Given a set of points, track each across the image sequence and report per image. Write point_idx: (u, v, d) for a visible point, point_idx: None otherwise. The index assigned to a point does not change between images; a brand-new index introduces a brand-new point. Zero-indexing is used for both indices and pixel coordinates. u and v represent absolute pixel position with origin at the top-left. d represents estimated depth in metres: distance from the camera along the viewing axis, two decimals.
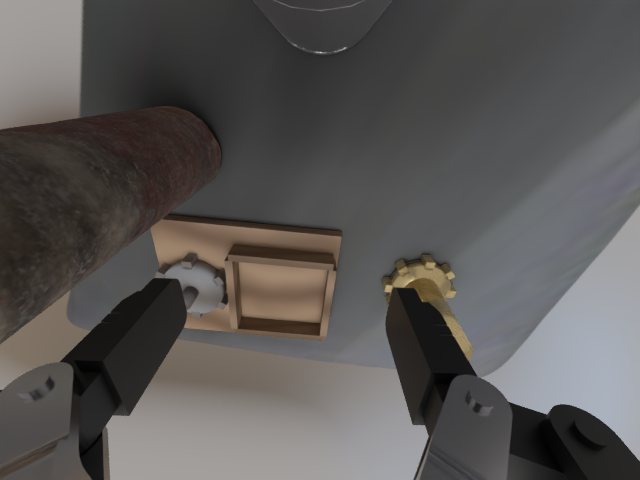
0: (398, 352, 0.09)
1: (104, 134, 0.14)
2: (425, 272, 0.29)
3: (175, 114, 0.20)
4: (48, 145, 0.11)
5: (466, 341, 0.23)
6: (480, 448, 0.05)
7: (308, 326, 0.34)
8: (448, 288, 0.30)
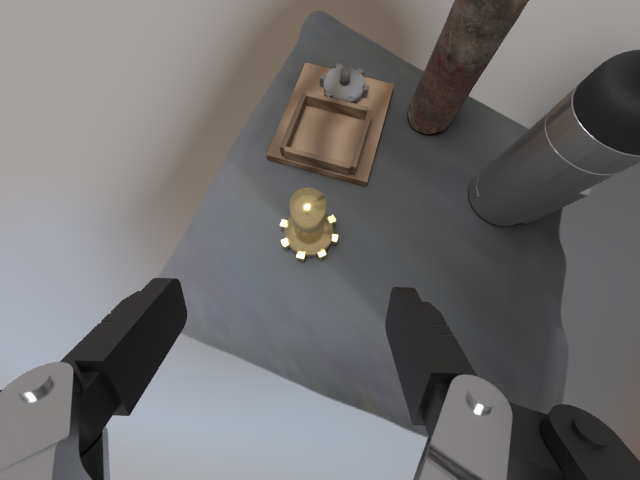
0: (398, 352, 0.09)
1: (483, 70, 0.34)
2: (328, 234, 0.37)
3: None
4: (499, 45, 0.31)
5: (320, 216, 0.28)
6: (480, 448, 0.05)
7: (289, 144, 0.41)
8: (308, 252, 0.36)
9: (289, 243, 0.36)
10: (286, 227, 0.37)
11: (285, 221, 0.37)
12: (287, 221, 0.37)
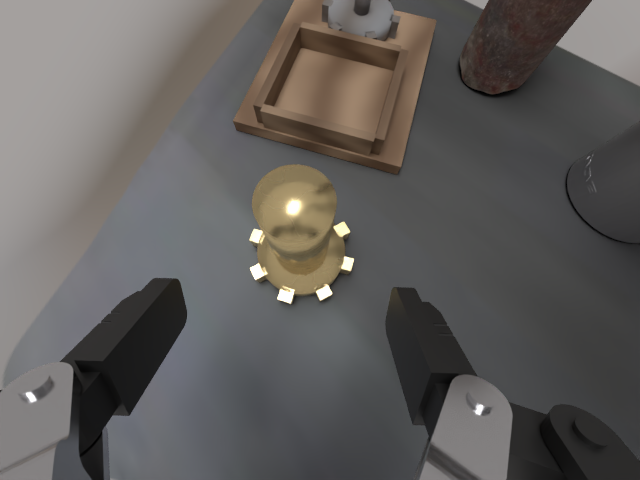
0: (398, 352, 0.09)
1: None
2: (336, 257, 0.20)
3: (542, 60, 0.25)
4: None
5: (324, 229, 0.12)
6: (479, 448, 0.05)
7: (271, 103, 0.24)
8: (299, 290, 0.20)
9: (265, 273, 0.20)
10: (261, 243, 0.21)
11: (259, 233, 0.21)
12: (263, 233, 0.21)
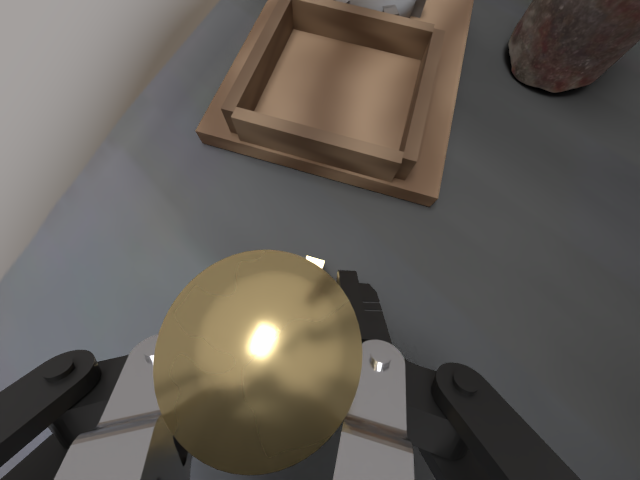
0: None
1: None
2: None
3: None
4: None
5: (332, 429, 0.05)
6: (384, 400, 0.06)
7: (250, 105, 0.17)
8: None
9: None
10: None
11: None
12: None
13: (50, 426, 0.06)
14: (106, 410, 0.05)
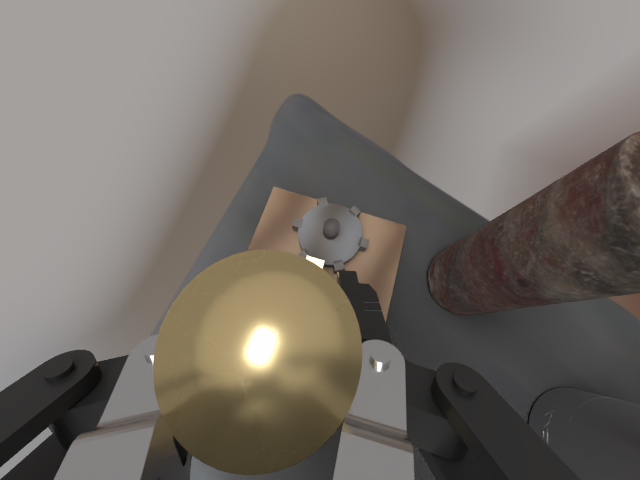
0: None
1: None
2: None
3: None
4: None
5: (332, 429, 0.05)
6: (384, 400, 0.06)
7: None
8: None
9: None
10: None
11: None
12: None
13: (50, 426, 0.06)
14: (105, 411, 0.05)
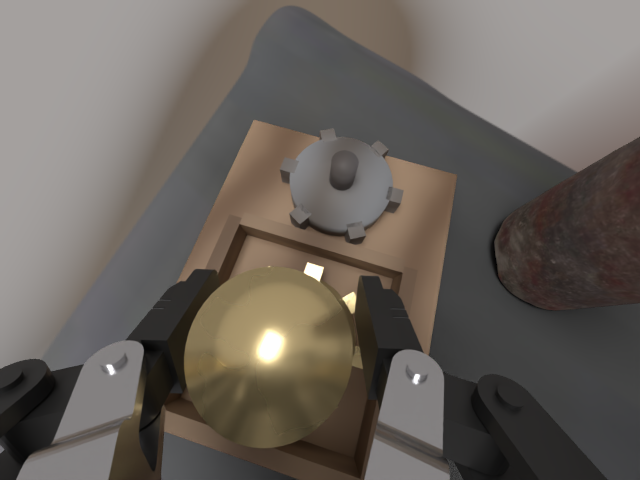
0: (361, 335, 0.09)
1: None
2: None
3: None
4: None
5: None
6: (419, 414, 0.05)
7: None
8: None
9: None
10: None
11: None
12: None
13: None
14: (60, 427, 0.05)
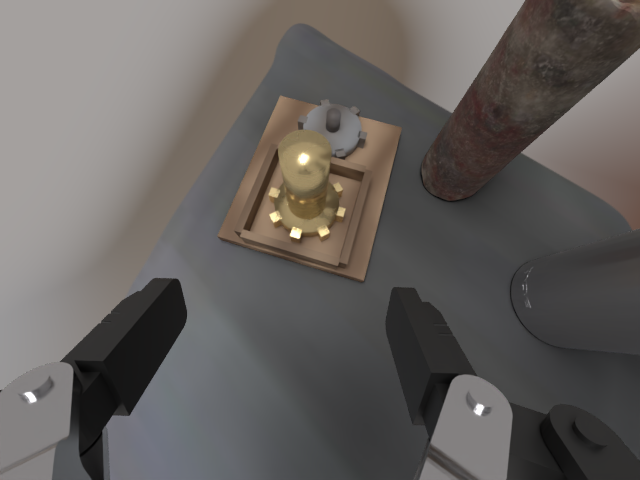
0: (398, 352, 0.09)
1: None
2: (332, 207, 0.28)
3: None
4: (584, 95, 0.19)
5: (323, 169, 0.19)
6: (479, 448, 0.05)
7: (251, 221, 0.28)
8: (305, 230, 0.27)
9: (280, 218, 0.27)
10: (277, 197, 0.28)
11: (275, 190, 0.28)
12: (278, 190, 0.28)
13: None
14: None
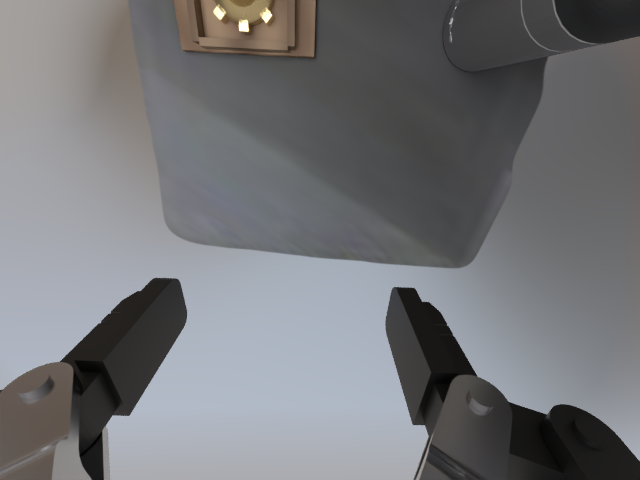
0: (398, 352, 0.09)
1: None
2: None
3: None
4: None
5: None
6: (480, 448, 0.05)
7: (201, 24, 0.30)
8: (250, 19, 0.29)
9: (224, 12, 0.29)
10: None
11: None
12: None
13: None
14: None
